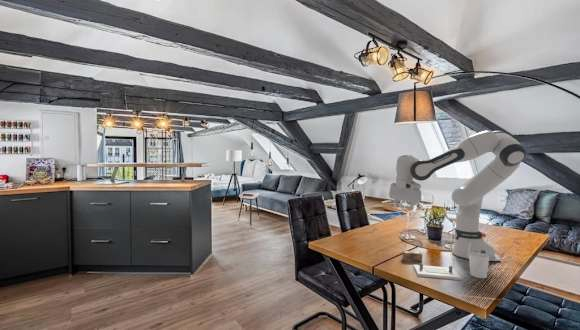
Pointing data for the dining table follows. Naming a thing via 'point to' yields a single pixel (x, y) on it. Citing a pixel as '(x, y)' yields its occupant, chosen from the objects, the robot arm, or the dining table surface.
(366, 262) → the dining table surface
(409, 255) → the walnut frame
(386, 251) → the dining table surface
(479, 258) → the pale white cylinder
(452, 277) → the wall panel
